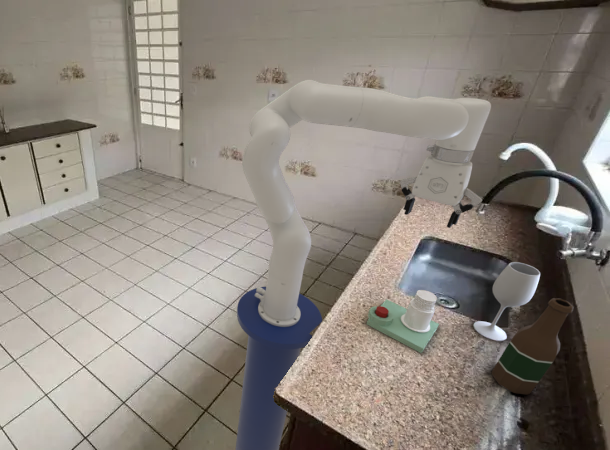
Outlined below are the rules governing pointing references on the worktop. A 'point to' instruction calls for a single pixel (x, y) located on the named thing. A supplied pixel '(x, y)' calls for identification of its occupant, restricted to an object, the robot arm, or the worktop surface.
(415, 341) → the scale
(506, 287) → the wineglass
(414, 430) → the worktop surface
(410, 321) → the downlight
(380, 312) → the button
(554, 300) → the beer bottle
